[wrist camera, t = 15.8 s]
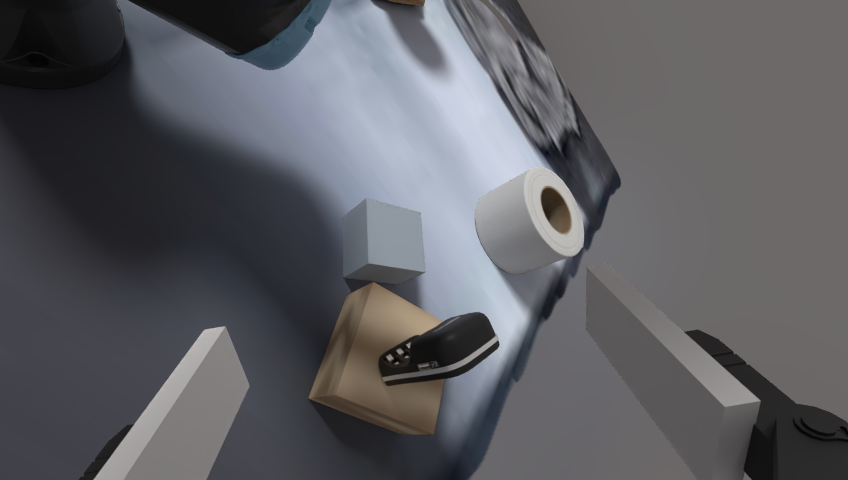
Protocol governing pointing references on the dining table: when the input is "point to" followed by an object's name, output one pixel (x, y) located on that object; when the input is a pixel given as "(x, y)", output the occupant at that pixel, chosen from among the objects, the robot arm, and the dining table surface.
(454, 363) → the battery charger
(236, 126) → the dining table surface
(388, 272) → the slate-blue block
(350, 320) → the oak block
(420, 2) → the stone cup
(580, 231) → the toilet paper roll
